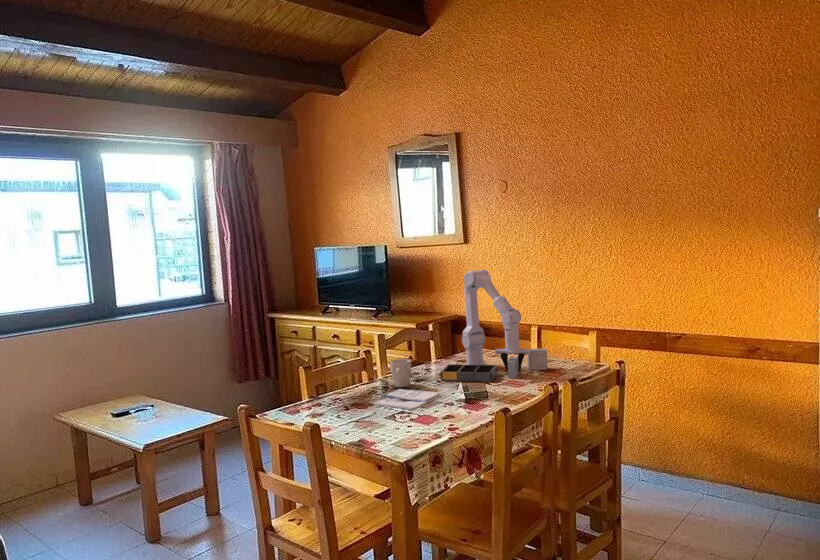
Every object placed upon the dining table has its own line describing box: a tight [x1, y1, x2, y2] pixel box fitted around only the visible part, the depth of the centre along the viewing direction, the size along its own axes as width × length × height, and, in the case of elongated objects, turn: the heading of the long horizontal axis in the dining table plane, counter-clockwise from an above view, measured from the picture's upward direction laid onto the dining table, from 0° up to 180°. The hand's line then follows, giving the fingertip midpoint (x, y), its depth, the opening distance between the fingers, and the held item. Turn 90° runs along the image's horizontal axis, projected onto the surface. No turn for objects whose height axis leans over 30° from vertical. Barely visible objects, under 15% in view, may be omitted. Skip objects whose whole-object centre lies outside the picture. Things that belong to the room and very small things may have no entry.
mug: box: [390, 358, 412, 388], centre depth 249 cm, size 11×8×10 cm
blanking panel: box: [507, 356, 520, 380], centre depth 256 cm, size 9×3×7 cm, turn 163°
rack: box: [440, 363, 498, 383], centre depth 258 cm, size 14×21×4 cm, turn 73°
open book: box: [373, 388, 442, 411], centre depth 229 cm, size 19×20×2 cm
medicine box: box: [527, 348, 549, 371], centre depth 265 cm, size 8×4×9 cm, turn 84°
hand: (513, 371), depth 256 cm, fingers open, 4 cm apart
